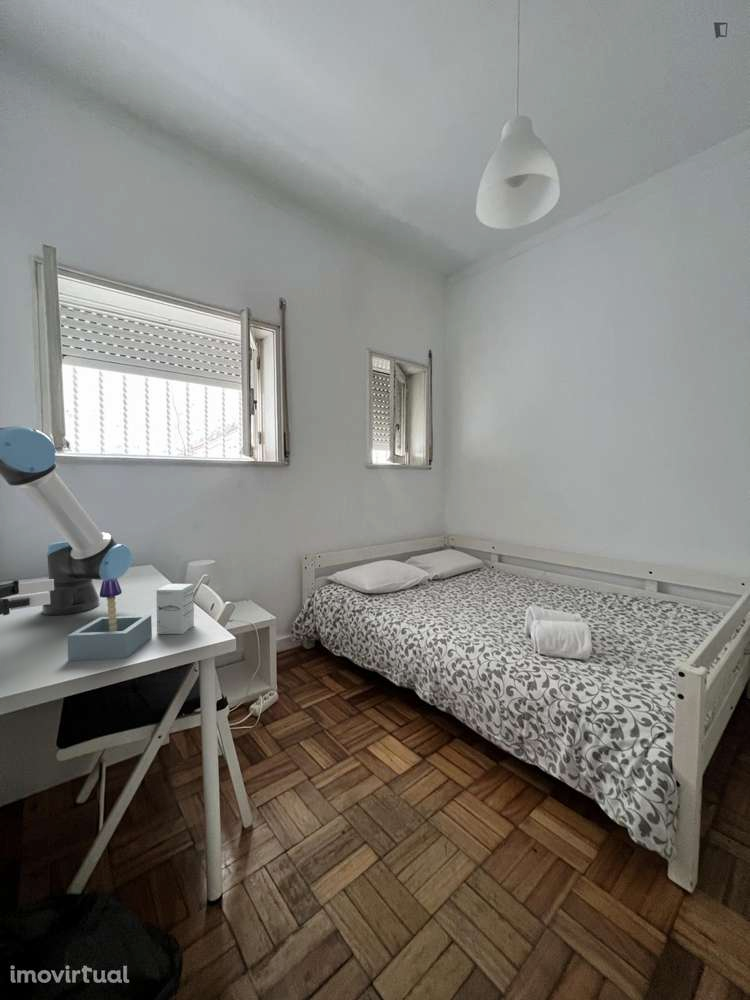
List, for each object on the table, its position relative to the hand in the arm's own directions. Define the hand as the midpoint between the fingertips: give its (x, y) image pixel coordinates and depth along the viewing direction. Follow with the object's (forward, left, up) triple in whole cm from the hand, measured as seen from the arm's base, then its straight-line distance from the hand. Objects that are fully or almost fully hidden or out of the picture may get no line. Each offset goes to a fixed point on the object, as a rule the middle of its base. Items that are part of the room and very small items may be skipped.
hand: (52, 590), depth 92 cm
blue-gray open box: (-5, +11, -16) cm, 20 cm away
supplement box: (-16, +22, -17) cm, 32 cm away
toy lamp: (-5, +11, -16) cm, 19 cm away
